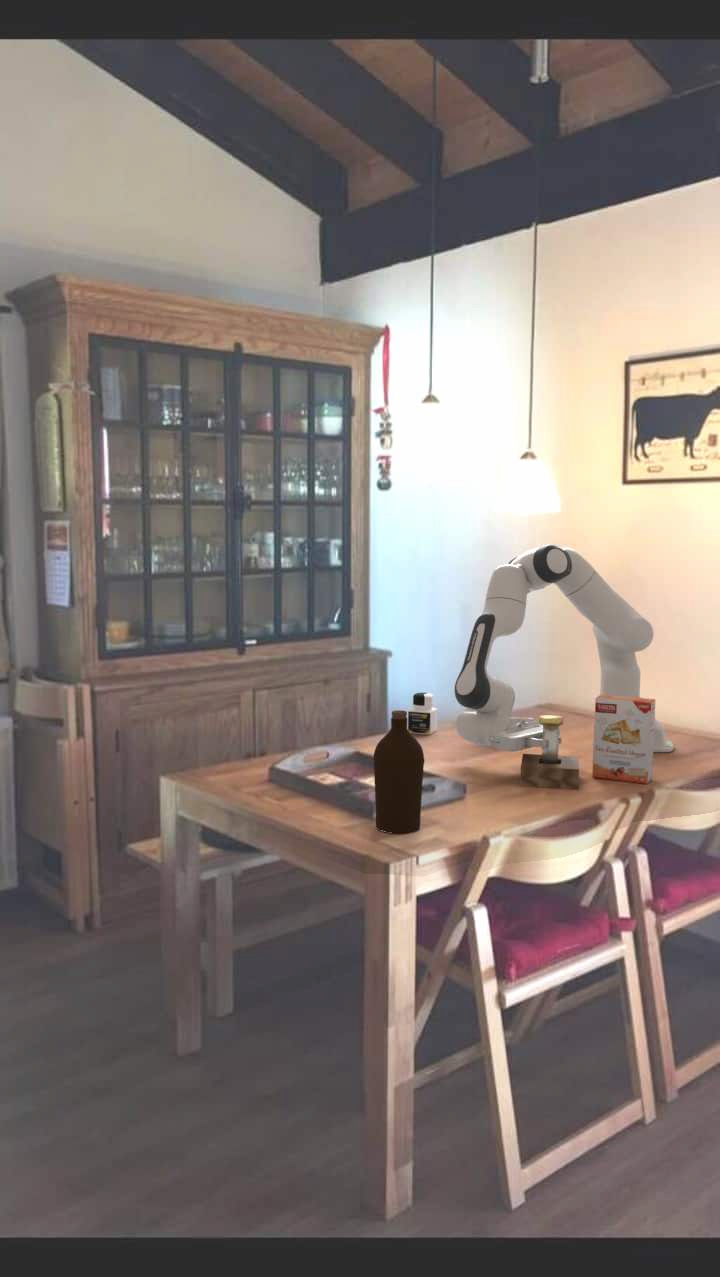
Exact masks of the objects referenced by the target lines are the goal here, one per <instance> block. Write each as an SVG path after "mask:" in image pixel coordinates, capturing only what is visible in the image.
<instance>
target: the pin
mask: <svg viewBox="0 0 720 1277" xmlns="http://www.w3.org/2000/svg"><path fill="white" fill-rule="evenodd" d="M538 722H539V724H541V725H543V739H545V740H548V741H549V746H548V747H545V748H543V747H541V750H542V751H541V755H542V763H543V764H558V755H559V747H560V746H559V745H560V744H559V728H560V726H563V725H564V717H563V716H561V715H551V714H547V715H540V716H539V717H538Z"/></svg>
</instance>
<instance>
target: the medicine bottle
mask: <svg viewBox="0 0 720 1277" xmlns="http://www.w3.org/2000/svg"><path fill="white" fill-rule="evenodd" d="M407 713H408V714H407V730H408V731H409V732H410V733H411V734H412V735H413V734H416V735H426V736H430V735H432V734H434V733H435V732H437V731H438V708H436V707H434V695H433V694H432V693H429V692H415V693H414V694H413V695H412V708H411V709H408V711H407Z"/></svg>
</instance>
